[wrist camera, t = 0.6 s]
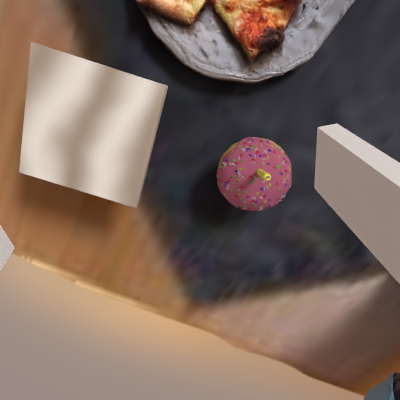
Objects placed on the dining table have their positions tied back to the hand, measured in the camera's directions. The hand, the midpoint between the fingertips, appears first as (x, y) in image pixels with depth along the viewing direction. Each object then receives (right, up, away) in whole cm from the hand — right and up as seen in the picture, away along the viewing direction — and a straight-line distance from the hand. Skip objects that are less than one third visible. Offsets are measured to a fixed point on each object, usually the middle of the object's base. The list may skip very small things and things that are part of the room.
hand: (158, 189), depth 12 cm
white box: (-9, +9, +26) cm, 29 cm away
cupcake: (+8, +4, +27) cm, 29 cm away
